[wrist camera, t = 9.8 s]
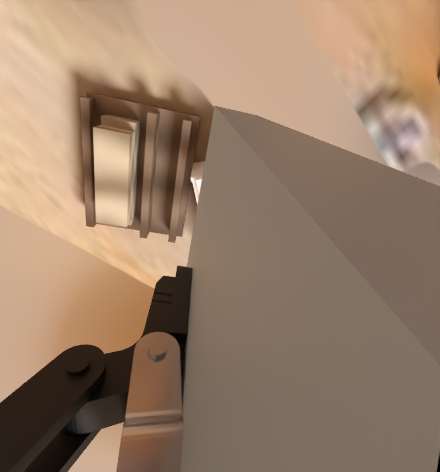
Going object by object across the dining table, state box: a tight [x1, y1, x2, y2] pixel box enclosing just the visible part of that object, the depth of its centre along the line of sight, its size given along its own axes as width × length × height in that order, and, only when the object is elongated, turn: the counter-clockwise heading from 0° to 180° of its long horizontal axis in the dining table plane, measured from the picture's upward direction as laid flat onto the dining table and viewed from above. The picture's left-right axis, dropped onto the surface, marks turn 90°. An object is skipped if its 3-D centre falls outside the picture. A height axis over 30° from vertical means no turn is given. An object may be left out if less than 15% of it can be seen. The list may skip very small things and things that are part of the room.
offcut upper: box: [93, 125, 135, 227], centre depth 33 cm, size 12×4×2 cm, turn 168°
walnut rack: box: [80, 92, 200, 243], centre depth 35 cm, size 18×14×4 cm
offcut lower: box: [101, 115, 140, 225], centre depth 35 cm, size 14×4×2 cm, turn 168°
